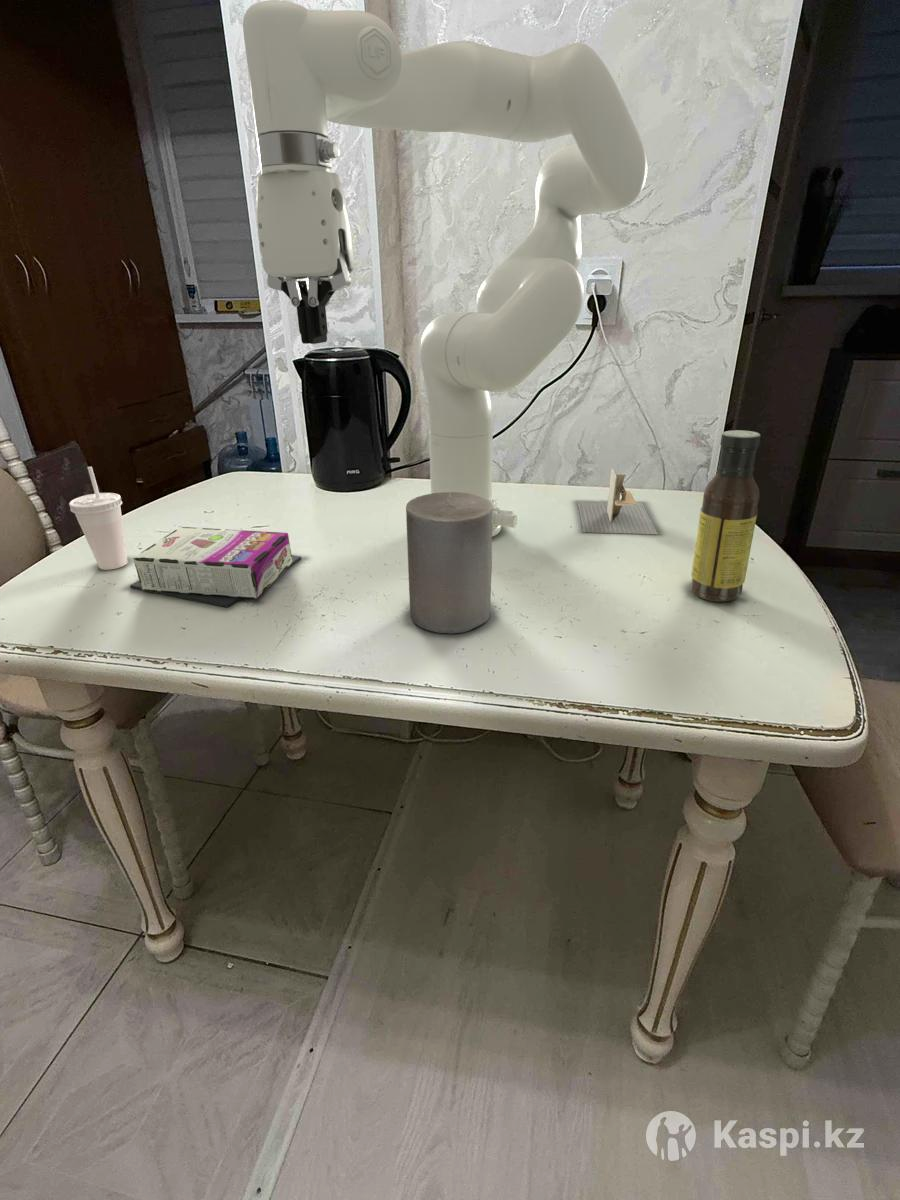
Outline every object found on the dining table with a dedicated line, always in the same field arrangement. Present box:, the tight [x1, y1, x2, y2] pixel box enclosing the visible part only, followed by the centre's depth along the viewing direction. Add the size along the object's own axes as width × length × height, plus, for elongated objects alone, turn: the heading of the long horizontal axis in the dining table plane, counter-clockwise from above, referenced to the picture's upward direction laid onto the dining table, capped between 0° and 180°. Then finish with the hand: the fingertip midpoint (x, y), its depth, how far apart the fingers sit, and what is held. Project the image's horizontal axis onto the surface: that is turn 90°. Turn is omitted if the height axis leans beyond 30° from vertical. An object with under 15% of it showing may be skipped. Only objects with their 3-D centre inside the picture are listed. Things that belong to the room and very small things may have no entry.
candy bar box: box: [132, 526, 293, 600], centre depth 83 cm, size 11×5×16 cm
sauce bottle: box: [690, 429, 761, 602], centre depth 74 cm, size 6×6×20 cm
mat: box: [129, 554, 302, 608], centre depth 86 cm, size 16×16×1 cm
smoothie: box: [68, 466, 128, 571], centre depth 86 cm, size 6×6×14 cm
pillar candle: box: [405, 492, 494, 634], centre depth 71 cm, size 10×10×15 cm
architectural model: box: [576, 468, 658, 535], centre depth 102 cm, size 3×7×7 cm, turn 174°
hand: (314, 342), depth 76 cm, fingers closed
